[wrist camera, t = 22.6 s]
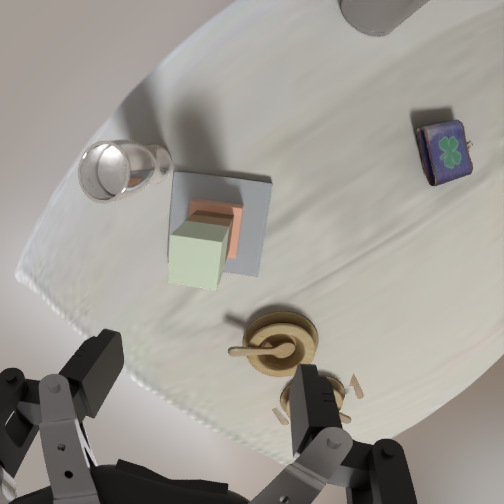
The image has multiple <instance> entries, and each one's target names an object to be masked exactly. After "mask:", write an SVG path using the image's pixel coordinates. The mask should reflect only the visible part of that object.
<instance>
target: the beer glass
mask: <svg viewBox="0 0 504 504" xmlns="http://www.w3.org/2000/svg"><path fill="white" fill-rule="evenodd" d="M171 166H172V161H171V157H170V155H169V153H168V151H167V150H166V149H165V148H163V147H162V146H160V145H155V144H152V145H147V146H144V145H142V144H140V143H138V142H135V141H131V140H123V139H120V140H109V141H100V142H97V143H95V144H93V145H91V146H90V147H89V148H88V149H87V150H86V151H85V152H84V154H83V156H82V158H81V160H80V163H79V168H78V178H79V183H80V186H81V188H82V190H83V192H84V193H85V195H86V196H87V197H88V198H89V199H91V200H92V201H94V202H97V203H110V202H113V201H118V200H122V199H126V198H129V197H131V196H133V195H135V194H137V193H139V192H140V191H141V190H143V189H144V188H145V187H146V186H147V185H155V184H159V183H161V182H162V181H164V180H165V179H166V178H167V177H168V175H169V173H170V171H171Z"/></svg>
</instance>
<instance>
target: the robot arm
mask: <svg viewBox="0 0 504 504" xmlns="http://www.w3.org/2000/svg"><path fill="white" fill-rule="evenodd" d="M428 1H430V0H342V2H341V11H342V13H343V16H344V17H345V19H346V20H347V21H348V23H349V24H350V25H351V26H353V27H354V28H355V29H357V30H358V31H360V32H362V33H365V34H367V35H371V36H385V35H387V34H389V33H390V32H392V31H393V30H394V29H395V28H396V27H398V26H399V25H400V24H401V23H402V22H404V21H405V20H406V19H407V18H408V17H410V16H411V15H412V14H413V13H415V12H416V11H417V10H418V9H419V8H421V7H422V6H423V5H424V4H426V3H427V2H428ZM123 364H124V354H123V347H122V339H121V334H120V332H117V331H113V330H109V329H103V330H102V331H101V333H100V334H99V335H98V336H97V337H94V336H93V337H91V338H89V339H87V340H86V341H84V342H83V344H82V345H81V346H80V347H79V350H77V351H76V352H75V354H74V355H73V356H72V357H71V358H70V360H69V361H68V362H67V363H66V365H65V366H64V367H63V368H62V370H61V371H60V372H59V374H50V375H47V376H45V377H44V378H43V379H42V380H41V381H37V380H30V379H25V377H24V374H23V372H22V371H21V370H19V369H17V368H7V369H5V370H4V371H2V372H1V373H0V504H311V503H312V501H313V500H314V499H315V498H316V497H317V495H318V494H319V493H320V492H321V490H322V489H323V488H324V486H325V485H326V483H328V484H333V485H337V486H342V487H346V495H347V504H417V500H416V495H415V491H414V487H413V483H412V479H411V476H410V472H409V469H408V464H407V461H406V458H405V454H404V450H403V448H402V446H401V445H400V444H399V443H398V442H396V441H394V440H392V439H381V440H378V441H377V442H376V443H375V444H374V445H371V444H366V443H361V442H357V441H355V440H353V439H352V438H351V436H350V434H349V433H348V432H346V431H345V430H343V428H342V424H341V419H340V415H339V411H338V407H337V402H336V398H335V395H334V390H333V386H332V384H331V383H330V381H329V380H328V379H327V378H326V376H318V372H317V367H316V365H314V364H301V363H299V364H298V366H297V369H296V372H295V375H294V378H293V381H292V384H291V388H290V393H289V406H290V419H291V433H292V448H293V458H297V459H296V460H295V461H294V462H293V463H292V464H289V465H288V466H287V467H286V468H285V469H284V470H283V471H282V472H281V473H280V474H279V475H278V476H277V477H276V478H275V479H274V480H273V481H272V482H271V483H270V484H269V485H268V486H267V487H265V489H263V490H262V492H260V493H259V494H258V495H257V496H256V497H255V498H254V499H253V500H251V501H249V500H248V499H246V498H245V497H243V496H241V495H239V494H237V493H235V492H232V491H229V490H228V484H227V483H218V482H212V481H206V480H171V479H168V478H166V477H163V476H161V475H159V474H157V473H155V472H153V471H151V470H149V469H147V468H146V467H143V466H140V465H137V464H133V463H130V462H127V461H124V460H121V459H119V460H118V462H117V464H116V465H100V466H98V464H97V462H96V460H95V457H94V455H93V452H92V449H91V445H90V442H89V439H88V436H87V432H86V429H85V425H84V422H83V420H84V418H85V416H89V417H91V418H95V416H96V415H97V412H98V411H99V409H100V407H101V405H102V404H103V402H104V400H105V398H106V397H107V395H108V393H109V391H110V389H111V388H112V386H113V384H114V382H115V381H116V379H117V377H118V375H119V374H120V372H121V370H122V368H123ZM13 411H14V413H13V415H12V416H11V418H10V419H9V421H8V423H7V424H6V421H7V420H8V418H9V417H10V415H11V414H12V412H13ZM5 424H6V426H5ZM39 430H40V437H41V443H42V448H43V453H44V459H45V463H46V468H47V472H48V476H49V481H50V486H48V487H45V488H43V489H40V490H37V491H35V492H32V493H29V494H26V495H24V496H21V497H18V498H16V496H17V493H16V484H15V481H14V477H15V475H16V473H17V471H18V469H19V467H20V465H21V463H22V461H23V459H24V457H25V455H26V453H27V451H28V449H29V447H30V445H31V444H32V442H33V440H34V438H35V436H36V434H37V432H38V431H39Z"/></svg>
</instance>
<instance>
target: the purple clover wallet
mask: <svg viewBox="0 0 504 504" xmlns="http://www.w3.org/2000/svg"><path fill="white" fill-rule="evenodd" d="M417 140H418V145H419V149H420V154H421V159H422V164H423V167H424V171H425V175H426V178H427V181H428V182H429V184H430V185H431V186H437V185H440V184H443V183H446V182H449V181H452V180H454V179H458V178H460V177H464V176H466V175H470V174H471V173H472V170H473V166H472V165H473V164H472V162H471V159H470V156H469V148H470V147H471V145H472V146H473V144H472V142H471V141H469V142H466V139H465V132H464V126H463V124H462V122H460V121H459V120H453V121H448V122H444V123H439V124H433V125H429V126H424V127H420V128H419V129H417ZM470 144H471V145H470Z"/></svg>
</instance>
